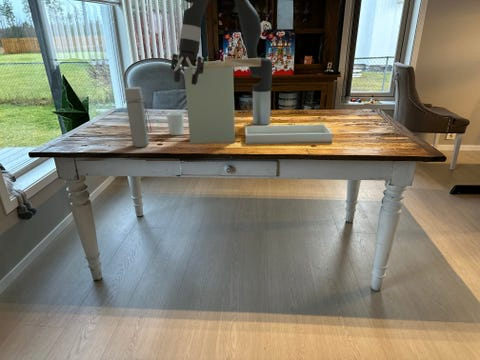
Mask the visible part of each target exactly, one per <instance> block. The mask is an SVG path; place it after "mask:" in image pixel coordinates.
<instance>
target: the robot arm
mask: <svg viewBox="0 0 480 360" xmlns="http://www.w3.org/2000/svg"><path fill="white" fill-rule="evenodd" d="M184 1H185V2H186V3H188V4H191V7H188V8H186V9H185V10H184V11H183V15H182V24H181V25H182V26H181V30H180V37H179V47H178V51H179V54H177V53H172V57H171V58H172V59H171V65H170V69H171V70H172V71H174V76H173V79H174V82H175V83H180V81H181V71H182V70H184V69H185V68H186V67H190V69H191V70H192V72H193V74H192V82H191V84H193V85H196V83H197V80H198V75H199V74H202V73H203V67H204V62H205V57H203V56H198V54H199V53H200V46H201V45H200V43H201V37H202V36H201V35H202V32H201V31H202V24H203V23H202V22H203V18H204V17H203V16H204V14H205V11H206V8H207V6H208V4H209V1H210V0H184ZM234 3H235V7H236V11H237V15H238V19H239V25H240V29H241V32H242V37H243V41H244V46H245V50H246V56H247V58H246V59H251V58H259V57H258V52H257V48H258V44H259V41H260V39H261V35H262V23H261V20H260V19H261V18H260V15H259V14H258V12H257V10H256V9H255V7H253V5H252V4H251V3H250V1H249V0H234ZM260 58H261V66H253V67H248V70H249V73H250V75H251V76H252V77H255V78H260V82H258V83H255V84H254V85H252V124H253V125H255V126H267V125H269V123H271V87H272V83H273V82H272V78H273V62H272V60H271V59H270V58H269V57H260ZM196 62H197V65H196ZM266 124H267V125H266Z"/></svg>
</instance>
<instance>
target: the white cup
mask: <svg viewBox="0 0 480 360" xmlns="http://www.w3.org/2000/svg"><path fill="white" fill-rule="evenodd" d="M166 119H167V125H168V132H169V134H170V135H171V136H180V135H183V134H184V112H182V111H172V112H171V111H169V112H168V113H166Z"/></svg>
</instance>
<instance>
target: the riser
mask: <svg viewBox="0 0 480 360" xmlns="http://www.w3.org/2000/svg"><path fill="white" fill-rule="evenodd" d="M183 74H184V88H185V97H186V108H187V109H186V110H187V122H188V133H189V143H190V144H218V143H219V144H220V143H221V144H223V143H236V142H235V141H236V139H235V138H236V127H235V126H236V125H235V95H234V93H235V91H234V67H225V68H203V73H202V74H199V75H198V80H197V83H196V85H193V84H191V82H192V74H193V72H192V70H191V69H190V68H189V67H184V68H183Z"/></svg>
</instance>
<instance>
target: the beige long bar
mask: <svg viewBox="0 0 480 360" xmlns="http://www.w3.org/2000/svg"><path fill="white" fill-rule="evenodd" d="M261 58H262V57H258V58H251V59H248V58H226V59H224V60H221V61H220V60H219V61H204V67H203V68H225V67H233V68H245V67H246V68H247V67H248V68H249V67H253V66H261ZM196 65H197V62H196ZM189 68H190V67H189Z"/></svg>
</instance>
